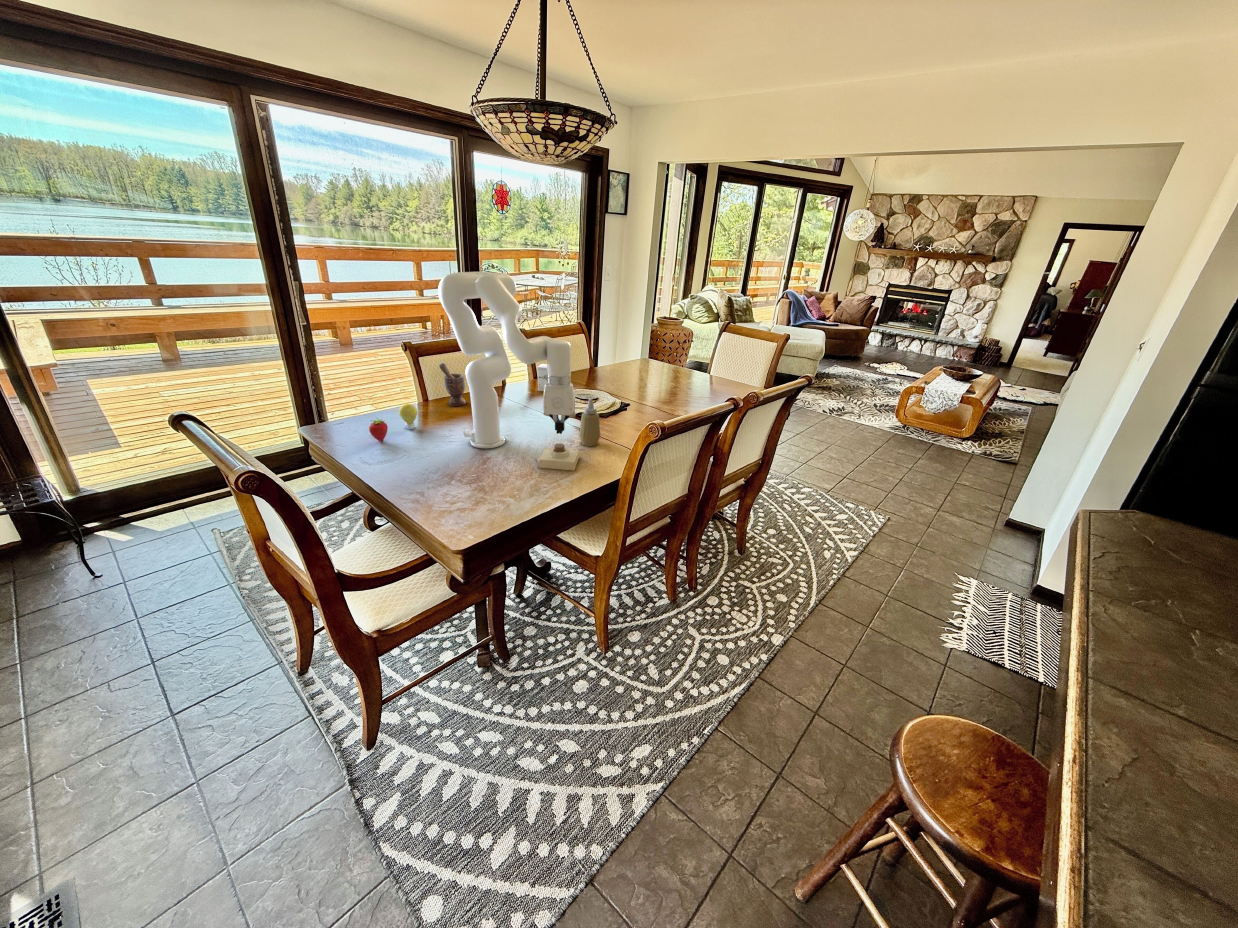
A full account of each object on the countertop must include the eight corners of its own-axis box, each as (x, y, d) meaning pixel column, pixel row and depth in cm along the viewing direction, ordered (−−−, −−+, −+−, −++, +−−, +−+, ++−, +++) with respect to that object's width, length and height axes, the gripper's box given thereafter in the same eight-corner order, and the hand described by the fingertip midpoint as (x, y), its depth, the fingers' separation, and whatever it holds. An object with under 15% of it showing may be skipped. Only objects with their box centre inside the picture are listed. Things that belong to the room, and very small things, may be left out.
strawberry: (368, 445, 174) (363, 419, 169) (377, 437, 180) (372, 412, 176) (384, 446, 174) (380, 420, 169) (393, 438, 181) (388, 413, 176)
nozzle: (553, 452, 164) (553, 447, 164) (555, 448, 168) (555, 443, 167) (563, 453, 164) (563, 448, 163) (565, 449, 167) (565, 443, 167)
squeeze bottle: (597, 449, 180) (598, 403, 173) (576, 446, 182) (577, 400, 174) (602, 441, 188) (603, 396, 180) (582, 438, 189) (583, 394, 181)
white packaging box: (537, 391, 242) (537, 366, 237) (542, 387, 249) (541, 363, 243) (551, 392, 241) (551, 368, 236) (556, 388, 248) (555, 364, 242)
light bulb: (397, 429, 189) (393, 405, 184) (410, 424, 194) (406, 400, 190) (411, 432, 186) (407, 408, 182) (423, 427, 192) (420, 403, 188)
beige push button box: (539, 467, 164) (539, 454, 162) (545, 455, 173) (545, 443, 171) (574, 470, 163) (574, 457, 161) (578, 458, 172) (578, 445, 170)
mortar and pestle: (460, 409, 213) (456, 365, 204) (441, 408, 213) (436, 363, 204) (469, 401, 223) (465, 358, 215) (450, 400, 223) (446, 357, 215)
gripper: (533, 381, 152) (535, 435, 160) (580, 384, 151) (579, 438, 159) (539, 375, 159) (540, 427, 167) (583, 378, 158) (583, 430, 166)
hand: (559, 432), depth 163 cm, fingers closed
